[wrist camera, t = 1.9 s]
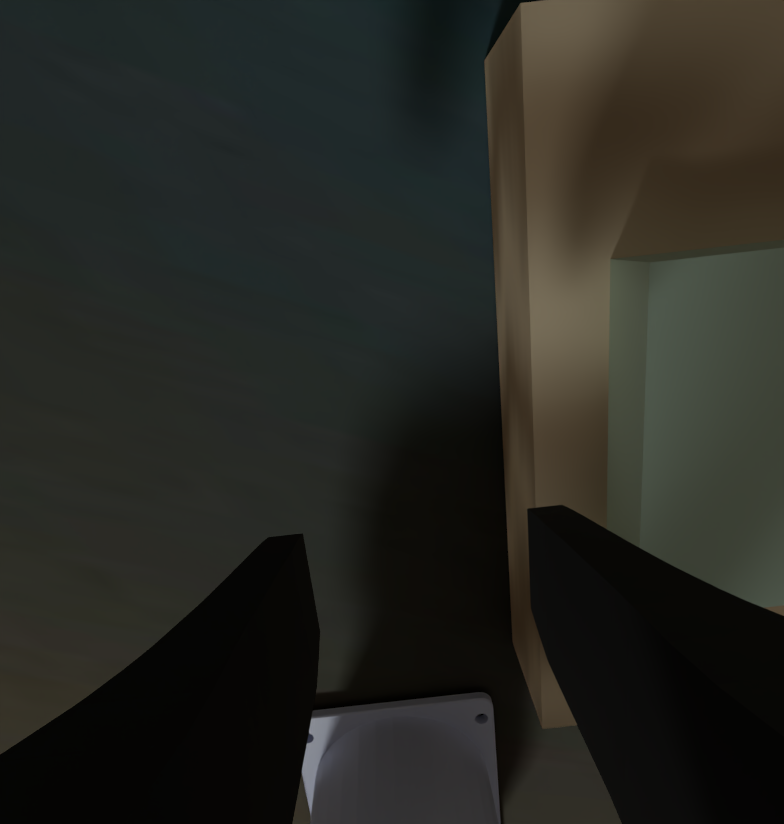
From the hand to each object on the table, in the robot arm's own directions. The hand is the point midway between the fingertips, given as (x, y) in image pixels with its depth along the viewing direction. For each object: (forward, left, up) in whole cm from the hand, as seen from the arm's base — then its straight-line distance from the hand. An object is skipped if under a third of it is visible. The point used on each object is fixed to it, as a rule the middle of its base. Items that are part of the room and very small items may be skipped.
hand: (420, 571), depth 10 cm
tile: (0, -8, -5) cm, 10 cm away
